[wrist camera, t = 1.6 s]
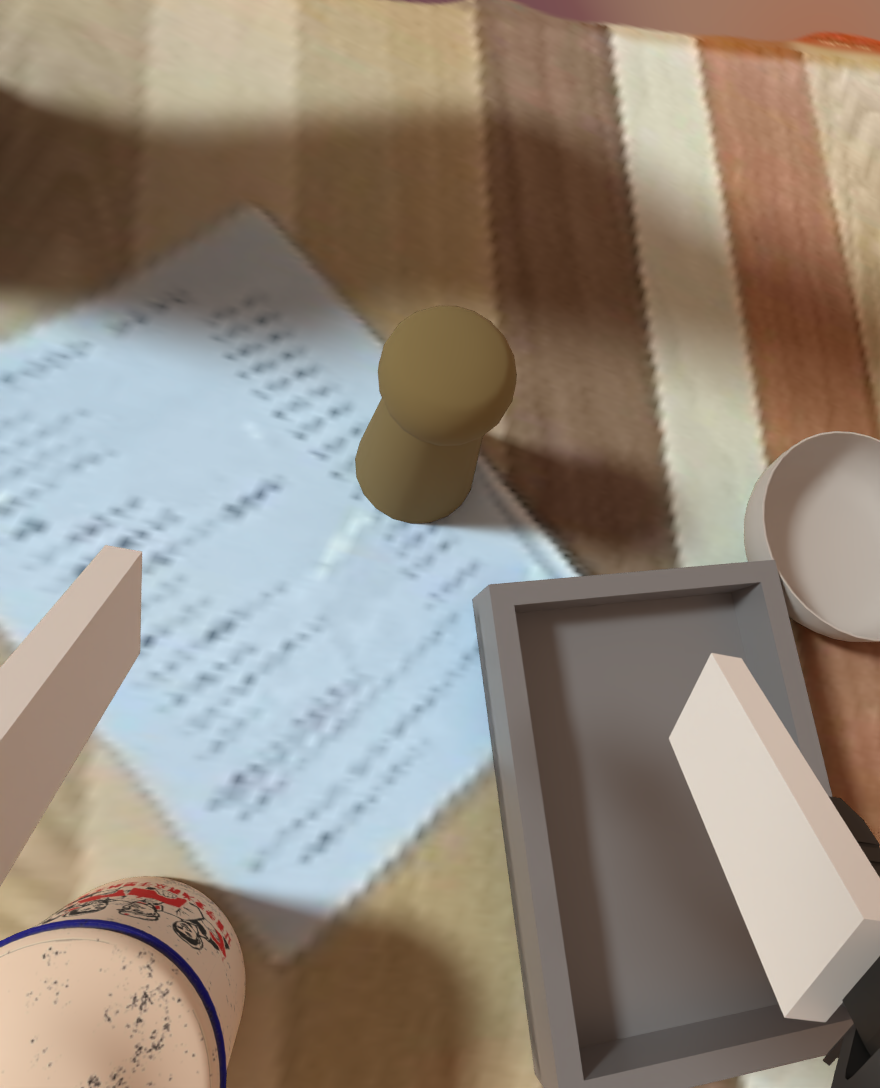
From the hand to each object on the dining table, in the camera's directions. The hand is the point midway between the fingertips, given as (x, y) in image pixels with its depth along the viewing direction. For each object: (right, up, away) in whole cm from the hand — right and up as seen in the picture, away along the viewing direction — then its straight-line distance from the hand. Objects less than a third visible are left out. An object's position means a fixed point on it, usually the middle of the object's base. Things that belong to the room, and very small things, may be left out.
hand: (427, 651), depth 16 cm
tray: (+10, -9, +17) cm, 21 cm away
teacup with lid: (-13, -15, +11) cm, 23 cm away
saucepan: (+24, +1, +22) cm, 32 cm away
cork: (-1, +6, +19) cm, 20 cm away
